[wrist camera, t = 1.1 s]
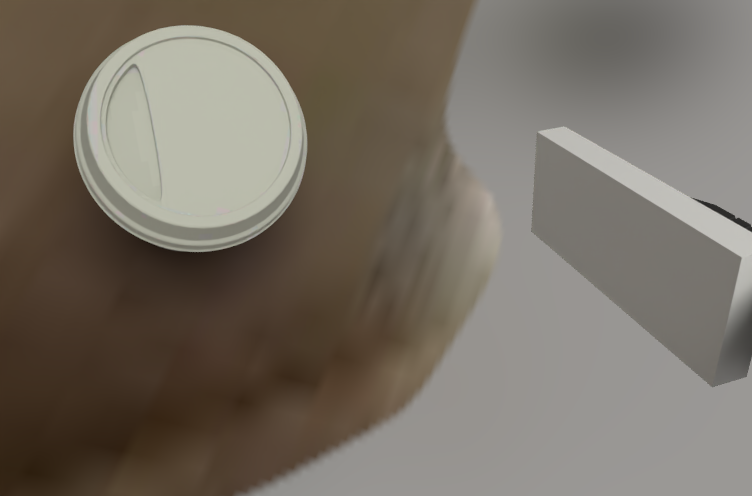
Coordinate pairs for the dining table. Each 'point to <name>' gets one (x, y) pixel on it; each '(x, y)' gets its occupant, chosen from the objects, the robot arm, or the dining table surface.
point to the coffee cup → (190, 139)
